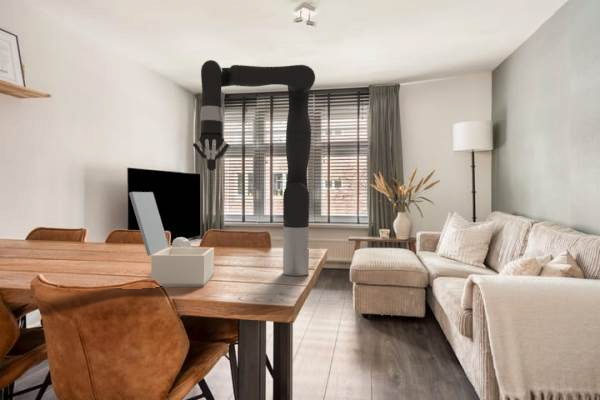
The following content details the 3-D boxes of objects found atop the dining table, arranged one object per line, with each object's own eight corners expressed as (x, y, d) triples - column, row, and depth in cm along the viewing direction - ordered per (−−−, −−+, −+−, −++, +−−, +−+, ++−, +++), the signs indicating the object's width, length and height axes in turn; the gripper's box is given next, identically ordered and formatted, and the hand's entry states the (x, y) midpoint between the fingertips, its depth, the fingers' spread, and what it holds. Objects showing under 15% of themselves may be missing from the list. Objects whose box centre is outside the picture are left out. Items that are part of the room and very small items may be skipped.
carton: (214, 275, 126) (214, 247, 126) (203, 287, 110) (204, 255, 110) (168, 275, 125) (168, 247, 125) (151, 287, 109) (151, 255, 109)
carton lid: (152, 192, 125) (149, 193, 125) (132, 191, 108) (128, 192, 108) (168, 246, 126) (166, 247, 126) (150, 254, 109) (147, 255, 109)
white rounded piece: (170, 268, 137) (170, 236, 137) (181, 267, 140) (181, 235, 140) (180, 273, 129) (180, 239, 129) (192, 271, 132) (192, 238, 132)
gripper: (232, 123, 128) (232, 171, 128) (195, 122, 128) (195, 171, 128) (229, 119, 121) (228, 170, 121) (189, 118, 120) (189, 169, 120)
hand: (211, 170), depth 124 cm, fingers closed
